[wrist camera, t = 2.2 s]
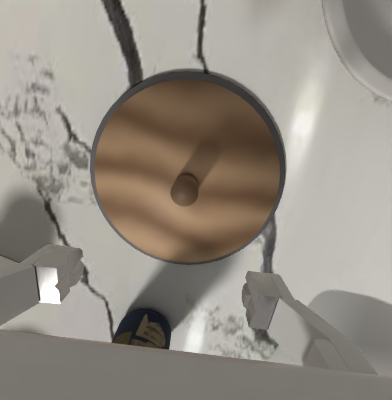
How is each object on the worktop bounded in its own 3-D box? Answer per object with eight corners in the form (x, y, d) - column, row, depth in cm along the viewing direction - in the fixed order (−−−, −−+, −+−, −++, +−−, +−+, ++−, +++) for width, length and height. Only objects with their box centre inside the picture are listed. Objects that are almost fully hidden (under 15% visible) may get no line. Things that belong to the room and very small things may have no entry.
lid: (95, 65, 23) (67, 46, 18) (301, 98, 24) (328, 88, 19) (98, 248, 31) (79, 269, 26) (253, 268, 31) (263, 293, 27)
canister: (181, 318, 36) (164, 486, 19) (158, 349, 38) (125, 521, 21) (133, 296, 34) (68, 457, 17) (113, 331, 37) (39, 499, 20)
